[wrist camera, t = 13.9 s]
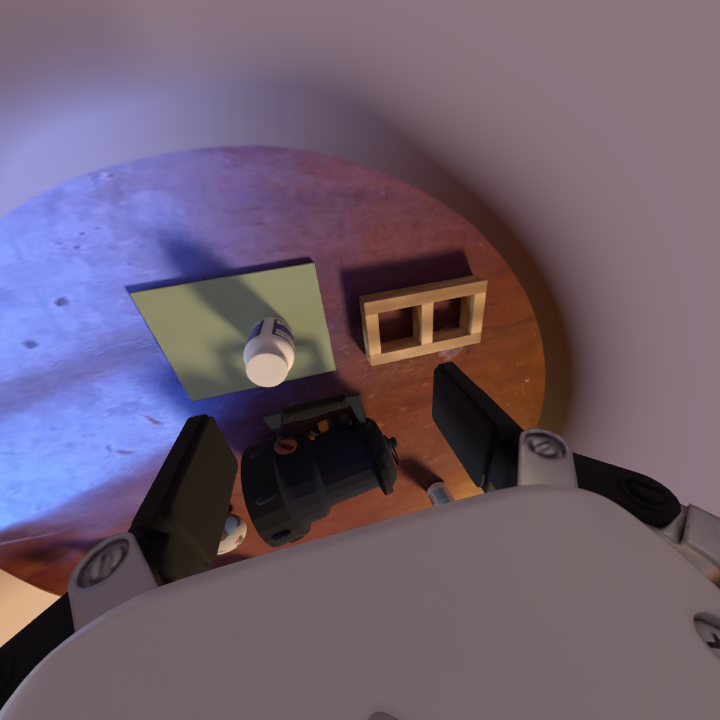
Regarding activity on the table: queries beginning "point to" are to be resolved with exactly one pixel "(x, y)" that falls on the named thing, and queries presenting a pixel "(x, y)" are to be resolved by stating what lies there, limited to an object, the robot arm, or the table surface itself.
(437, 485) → the beer can
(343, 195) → the table surface
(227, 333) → the mat
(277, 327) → the pill bottle
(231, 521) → the white rounded ceramic piece
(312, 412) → the flashlight
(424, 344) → the rack
